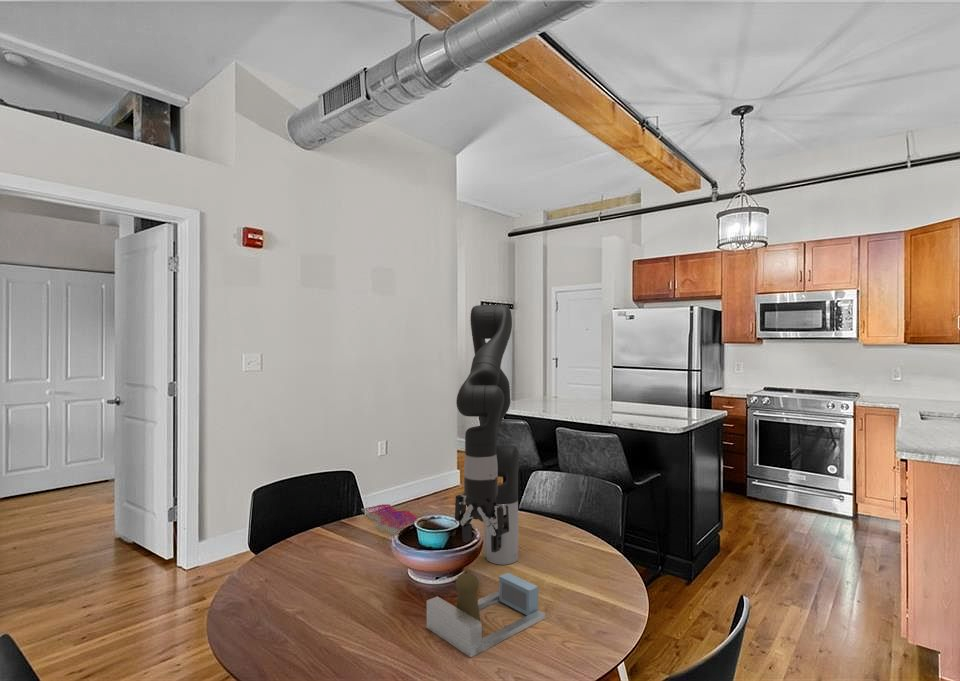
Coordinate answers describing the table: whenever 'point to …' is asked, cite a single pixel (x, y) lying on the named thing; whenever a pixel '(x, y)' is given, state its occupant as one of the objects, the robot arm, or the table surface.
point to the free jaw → (518, 593)
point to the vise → (471, 625)
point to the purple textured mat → (390, 517)
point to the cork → (468, 594)
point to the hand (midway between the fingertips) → (481, 546)
